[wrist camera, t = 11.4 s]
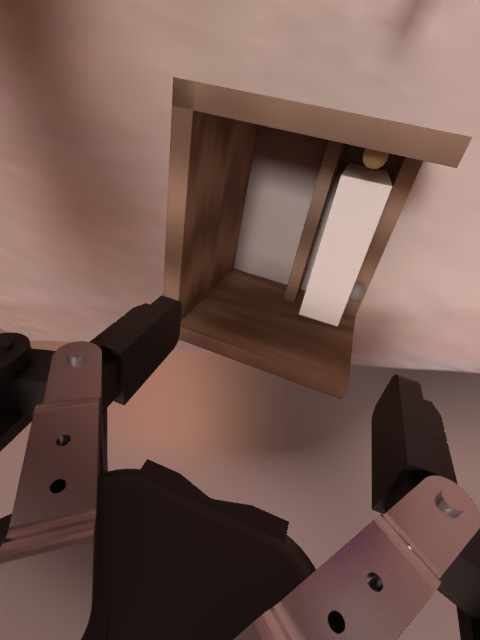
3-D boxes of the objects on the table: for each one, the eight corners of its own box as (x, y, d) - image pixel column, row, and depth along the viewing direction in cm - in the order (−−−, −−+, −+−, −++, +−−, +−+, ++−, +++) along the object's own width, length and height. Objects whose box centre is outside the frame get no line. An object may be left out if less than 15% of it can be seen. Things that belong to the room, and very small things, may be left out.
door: (349, 163, 26) (341, 175, 20) (400, 174, 25) (410, 190, 19) (314, 275, 32) (298, 314, 25) (355, 287, 31) (351, 330, 24)
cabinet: (248, 95, 26) (173, 77, 16) (430, 132, 23) (472, 137, 14) (220, 275, 35) (161, 332, 25) (351, 317, 32) (341, 399, 22)
